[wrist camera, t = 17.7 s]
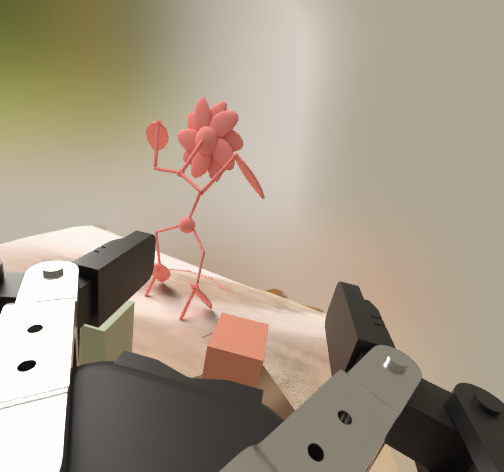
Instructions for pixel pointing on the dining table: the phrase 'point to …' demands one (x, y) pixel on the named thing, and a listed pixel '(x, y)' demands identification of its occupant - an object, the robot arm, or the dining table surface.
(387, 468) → the dining table surface
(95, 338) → the olive block
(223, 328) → the red block
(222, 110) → the figurine
